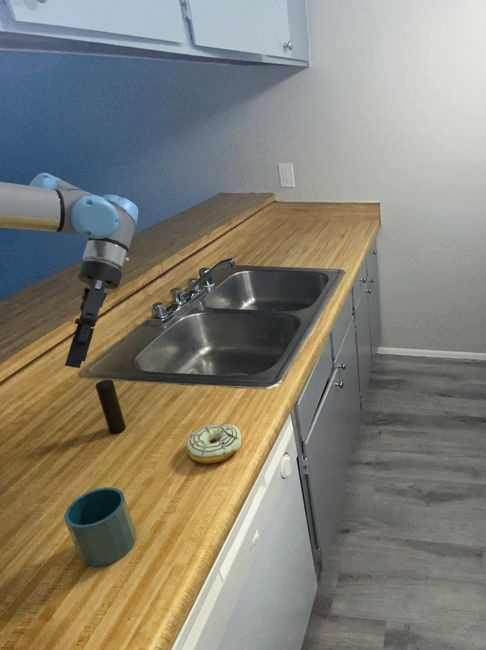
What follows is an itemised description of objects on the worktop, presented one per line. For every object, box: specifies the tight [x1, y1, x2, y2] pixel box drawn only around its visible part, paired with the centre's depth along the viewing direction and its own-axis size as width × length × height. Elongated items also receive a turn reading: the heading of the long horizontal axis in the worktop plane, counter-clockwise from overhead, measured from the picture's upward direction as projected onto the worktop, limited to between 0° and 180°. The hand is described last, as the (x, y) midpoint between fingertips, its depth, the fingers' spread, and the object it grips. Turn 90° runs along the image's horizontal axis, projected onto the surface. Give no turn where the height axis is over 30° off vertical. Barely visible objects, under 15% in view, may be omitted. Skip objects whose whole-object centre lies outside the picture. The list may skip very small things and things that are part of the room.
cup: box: [63, 486, 137, 568], centre depth 76 cm, size 8×8×9 cm
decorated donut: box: [185, 423, 243, 465], centre depth 98 cm, size 10×11×4 cm
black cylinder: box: [94, 379, 127, 435], centre depth 101 cm, size 3×3×12 cm
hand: (74, 363), depth 94 cm, fingers open, 13 cm apart
